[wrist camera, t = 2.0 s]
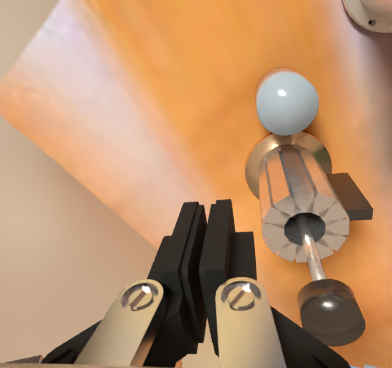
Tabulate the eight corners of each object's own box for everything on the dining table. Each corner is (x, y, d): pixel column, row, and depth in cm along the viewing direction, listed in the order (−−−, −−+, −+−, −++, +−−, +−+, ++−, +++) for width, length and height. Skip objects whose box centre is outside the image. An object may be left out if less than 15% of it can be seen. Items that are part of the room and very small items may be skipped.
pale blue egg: (305, 63, 43) (318, 71, 35) (305, 114, 46) (318, 132, 38) (253, 71, 44) (254, 80, 36) (257, 120, 47) (259, 138, 39)
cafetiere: (339, 123, 46) (386, 169, 31) (337, 201, 51) (375, 273, 36) (241, 134, 48) (239, 181, 33) (249, 207, 54) (250, 276, 39)
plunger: (315, 186, 39) (367, 304, 22) (315, 217, 40) (363, 346, 24) (278, 189, 39) (302, 304, 23) (279, 219, 41) (303, 345, 25)
